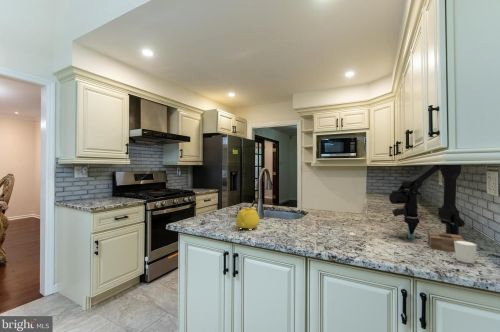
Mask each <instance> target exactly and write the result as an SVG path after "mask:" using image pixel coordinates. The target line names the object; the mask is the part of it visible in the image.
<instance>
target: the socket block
mask: <svg viewBox="0 0 500 332" xmlns="http://www.w3.org/2000/svg"><path fill="white" fill-rule="evenodd" d="M427 232H428V234H427V237H428V239H427V240H428V241H427V242H428V244H429V248H430V249H432V250H437V251H444V252H451V253H452V252H453V253H455V246H454V241H466V240H465V239H464V238H463V237H462V236H461V235H454V234H445V233H446V232H434V231H427Z"/></svg>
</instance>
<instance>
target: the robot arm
mask: <svg viewBox="0 0 500 332" xmlns="http://www.w3.org/2000/svg"><path fill="white" fill-rule="evenodd" d="M438 171H440V173H441V175H442V177H443V179H444V180H443V181H444V182H443V205H442V206H441V207H438V208H437V209H438V211H437V212H438V213H437V216H438V218H439V219H440V222H441V224H445V232H444V233H445V234H454V235H460V228H462V227H465V223H466V222H465V221H464V220H463V219H462V217H461V216H460V211H459V210H458V208H457V205H456V201H457V200H456V199H457V179H458V178H459V177H460V175H461V171H462V165H461V164H460V165H429V164H428V165H426V166H425V167H424V168H423V169H422V170H420V171H418V173H416V174H414V175H412V176H410V177H407V178H405V179H403V181H402V182H401V185H400V186H399V188H398V189H397V190H392V191H391V193H390V195H389V197H388V199H389V202H390V203H391V204H392V205H399V204H401V205H402V204H403V207H398V208H394V209H392V210H391V212H392V214H393V216H394V217H398V216H402V215H403V220H404V223H406V224H407V228H408V227H409V231H410V234H413V232H414V230H416V228H417V227H418V225H419V224H420V218H419V214H418V213H419V212H418V211H419V210H418V209H419V205H418V196H422V193H421V192H420V191H418V190H420V189H421V187H422V186H423V184H424V182H425V181H426V180H428V179H429V178H430V177H431V176H432V175H434V174H435V173H436V172H438ZM460 236H461V235H460Z"/></svg>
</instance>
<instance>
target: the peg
mask: <svg viewBox="0 0 500 332" xmlns="http://www.w3.org/2000/svg"><path fill="white" fill-rule="evenodd" d="M415 230H416V229H415ZM415 230H414V232H413V234H410V231H409V227H408V226H407V239H411V240H414V239H415V238H416V237H415V236H416V235H415V234H416V233H415Z"/></svg>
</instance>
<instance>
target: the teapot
mask: <svg viewBox="0 0 500 332" xmlns="http://www.w3.org/2000/svg"><path fill="white" fill-rule="evenodd" d="M260 223H261V222H260V216H259V214H258V212H257V210H256V209H255V206H251V208H250V207H245V209H244V208H243V209H240V210H239V211H238V213H237V215H236V219H235V225H236V226H237V228H243V229H248V230H249V229H256V228H257V227H258V226H259V225H260ZM255 227H256V228H255Z"/></svg>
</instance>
